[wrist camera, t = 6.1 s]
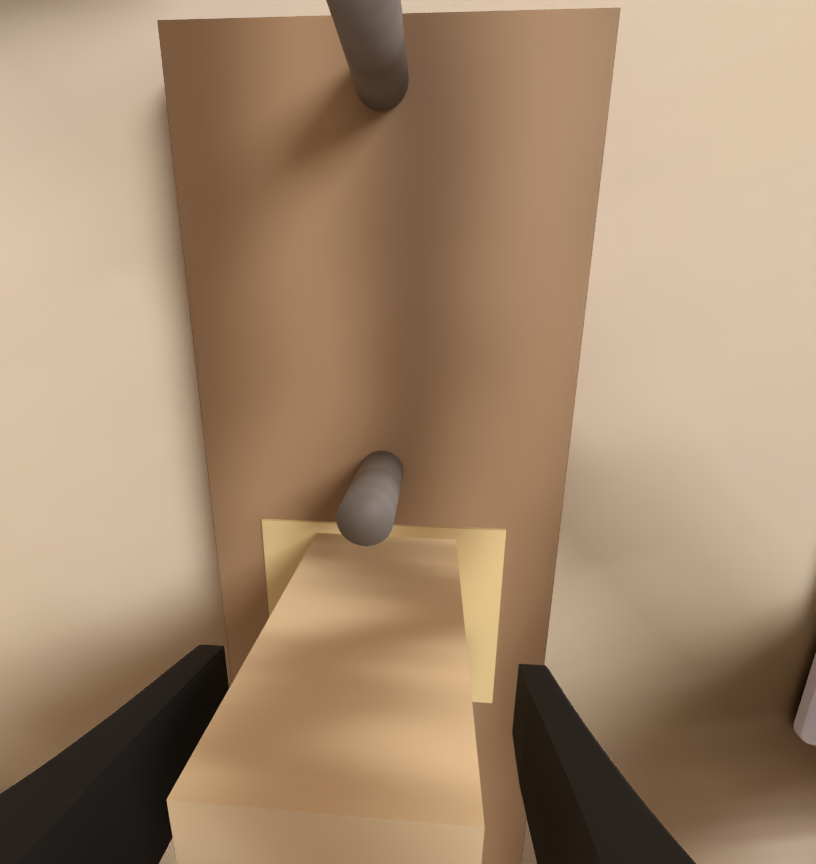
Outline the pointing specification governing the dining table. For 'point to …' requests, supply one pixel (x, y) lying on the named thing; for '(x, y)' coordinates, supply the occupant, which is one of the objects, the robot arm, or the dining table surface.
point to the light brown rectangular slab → (344, 722)
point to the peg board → (393, 304)
